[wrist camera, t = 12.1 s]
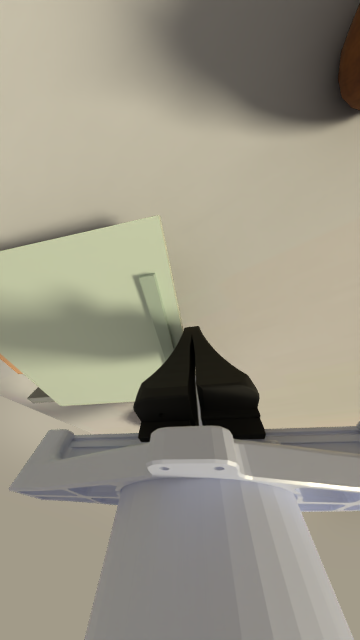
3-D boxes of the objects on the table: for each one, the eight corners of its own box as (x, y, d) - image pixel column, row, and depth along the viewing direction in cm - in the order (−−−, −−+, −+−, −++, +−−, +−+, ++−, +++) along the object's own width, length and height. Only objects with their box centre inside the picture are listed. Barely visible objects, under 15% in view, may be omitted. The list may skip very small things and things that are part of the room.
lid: (195, 392, 18) (196, 402, 16) (63, 401, 20) (57, 410, 19) (160, 216, 8) (156, 213, 7) (-80, 270, 11) (-109, 274, 10)
